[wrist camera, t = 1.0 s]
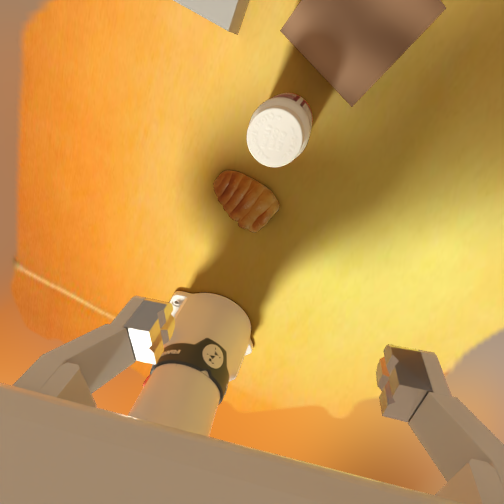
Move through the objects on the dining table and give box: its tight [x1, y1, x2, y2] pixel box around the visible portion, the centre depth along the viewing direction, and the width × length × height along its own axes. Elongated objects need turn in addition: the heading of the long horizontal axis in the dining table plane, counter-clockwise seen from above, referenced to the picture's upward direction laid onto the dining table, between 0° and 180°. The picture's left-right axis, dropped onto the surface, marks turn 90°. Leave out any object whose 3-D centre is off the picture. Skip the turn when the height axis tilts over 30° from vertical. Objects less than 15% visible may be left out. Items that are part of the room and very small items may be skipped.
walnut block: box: [280, 0, 446, 107], centre depth 28 cm, size 10×10×4 cm
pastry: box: [213, 170, 279, 232], centre depth 41 cm, size 9×7×4 cm
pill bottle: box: [247, 93, 313, 167], centre depth 31 cm, size 6×6×11 cm
